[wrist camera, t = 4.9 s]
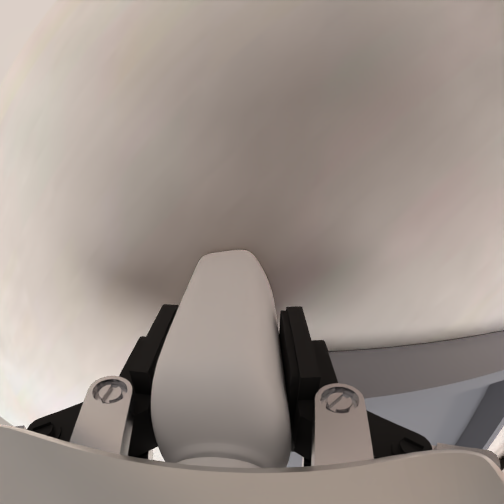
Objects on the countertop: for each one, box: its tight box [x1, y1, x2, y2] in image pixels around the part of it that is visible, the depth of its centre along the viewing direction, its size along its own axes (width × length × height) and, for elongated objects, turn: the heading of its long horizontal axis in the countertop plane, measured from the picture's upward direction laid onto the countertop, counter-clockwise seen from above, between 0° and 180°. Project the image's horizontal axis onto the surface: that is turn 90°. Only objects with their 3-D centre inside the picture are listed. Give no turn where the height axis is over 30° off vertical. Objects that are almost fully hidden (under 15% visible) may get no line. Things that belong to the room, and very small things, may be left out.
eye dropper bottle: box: [151, 250, 292, 468], centre depth 8 cm, size 4×6×12 cm
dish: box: [287, 331, 504, 467], centre depth 15 cm, size 15×15×4 cm
